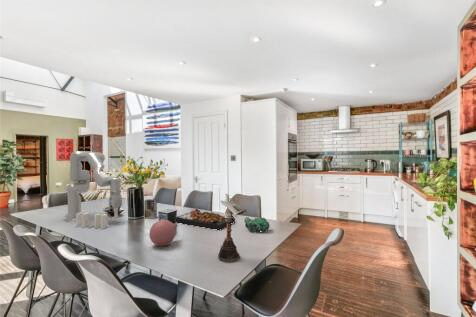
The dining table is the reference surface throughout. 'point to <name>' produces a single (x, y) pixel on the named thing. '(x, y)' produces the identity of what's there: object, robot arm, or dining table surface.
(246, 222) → the mineral
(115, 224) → the dining table surface
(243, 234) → the dining table surface
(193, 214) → the food platter
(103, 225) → the domino
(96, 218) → the domino
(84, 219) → the domino
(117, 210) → the domino
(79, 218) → the domino
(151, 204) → the coffee box
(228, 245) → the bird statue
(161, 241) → the dusty pink rubber ball
